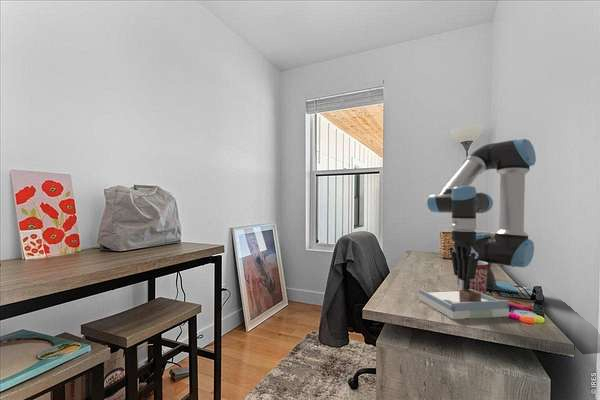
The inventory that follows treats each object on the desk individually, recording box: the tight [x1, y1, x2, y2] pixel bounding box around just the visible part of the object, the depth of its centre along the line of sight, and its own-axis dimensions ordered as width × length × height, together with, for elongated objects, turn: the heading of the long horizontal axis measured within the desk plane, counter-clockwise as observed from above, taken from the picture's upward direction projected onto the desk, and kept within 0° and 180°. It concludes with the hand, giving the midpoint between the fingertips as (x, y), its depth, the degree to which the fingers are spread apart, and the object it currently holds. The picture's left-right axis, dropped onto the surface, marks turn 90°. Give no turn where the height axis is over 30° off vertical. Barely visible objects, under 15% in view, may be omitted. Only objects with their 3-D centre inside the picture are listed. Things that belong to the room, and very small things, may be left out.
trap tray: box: [418, 288, 510, 320], centre depth 104 cm, size 20×20×5 cm
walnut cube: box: [460, 290, 481, 302], centre depth 99 cm, size 4×4×4 cm
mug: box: [470, 261, 488, 295], centre depth 120 cm, size 13×9×14 cm
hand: (464, 297), depth 102 cm, fingers closed
